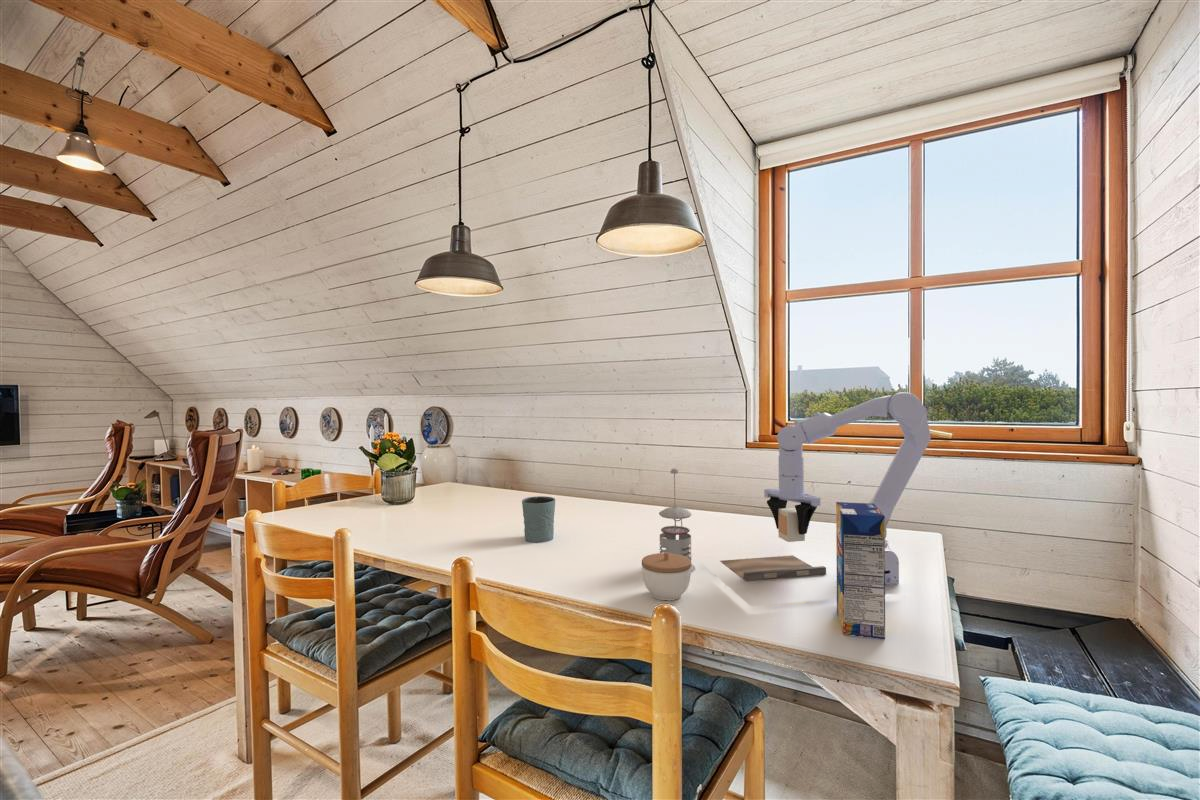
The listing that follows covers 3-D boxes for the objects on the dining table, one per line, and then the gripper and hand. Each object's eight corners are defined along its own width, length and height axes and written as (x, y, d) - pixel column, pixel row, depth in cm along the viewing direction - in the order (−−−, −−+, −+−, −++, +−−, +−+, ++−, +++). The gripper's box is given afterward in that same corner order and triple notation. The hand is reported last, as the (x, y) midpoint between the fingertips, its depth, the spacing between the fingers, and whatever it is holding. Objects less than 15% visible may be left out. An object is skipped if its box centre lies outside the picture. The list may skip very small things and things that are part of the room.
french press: (652, 572, 136) (651, 470, 135) (660, 558, 147) (659, 464, 146) (693, 575, 133) (692, 471, 132) (698, 561, 144) (696, 465, 144)
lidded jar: (672, 609, 113) (671, 563, 113) (631, 596, 120) (631, 553, 120) (701, 594, 121) (700, 551, 121) (661, 583, 128) (661, 542, 128)
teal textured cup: (547, 532, 175) (546, 495, 174) (561, 540, 166) (561, 500, 166) (517, 537, 169) (516, 498, 169) (530, 545, 161) (529, 504, 160)
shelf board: (826, 579, 129) (826, 567, 129) (745, 586, 125) (745, 574, 125) (792, 559, 144) (792, 549, 144) (719, 565, 140) (719, 554, 140)
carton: (794, 535, 137) (794, 507, 137) (804, 540, 133) (804, 511, 132) (777, 537, 136) (777, 508, 136) (786, 542, 132) (786, 512, 132)
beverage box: (843, 635, 100) (842, 514, 100) (836, 611, 111) (836, 501, 110) (885, 639, 98) (884, 516, 98) (874, 615, 109) (874, 503, 108)
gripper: (828, 477, 130) (828, 534, 131) (776, 470, 142) (777, 522, 143) (809, 480, 126) (810, 539, 127) (758, 472, 138) (759, 527, 139)
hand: (791, 531), depth 134 cm, fingers closed on carton, 6 cm apart
